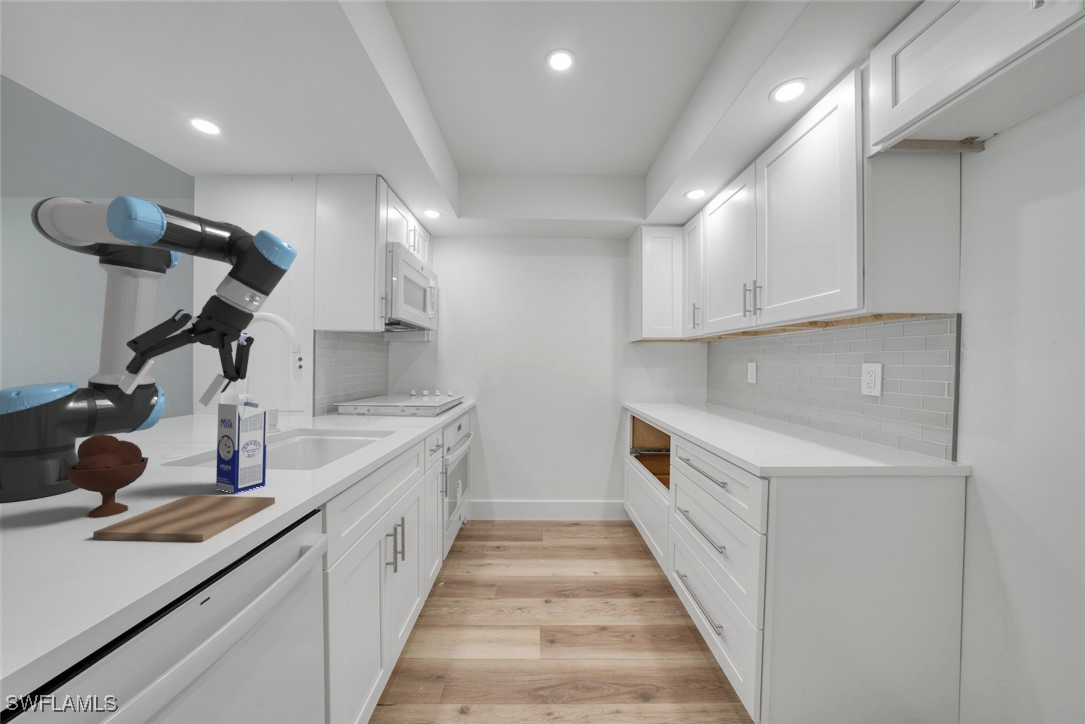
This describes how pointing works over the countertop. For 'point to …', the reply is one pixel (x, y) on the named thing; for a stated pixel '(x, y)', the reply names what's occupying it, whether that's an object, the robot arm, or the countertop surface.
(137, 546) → the countertop surface
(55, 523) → the countertop surface
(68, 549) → the countertop surface
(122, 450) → the ice cream bowl
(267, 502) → the walnut board
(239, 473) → the milk carton
